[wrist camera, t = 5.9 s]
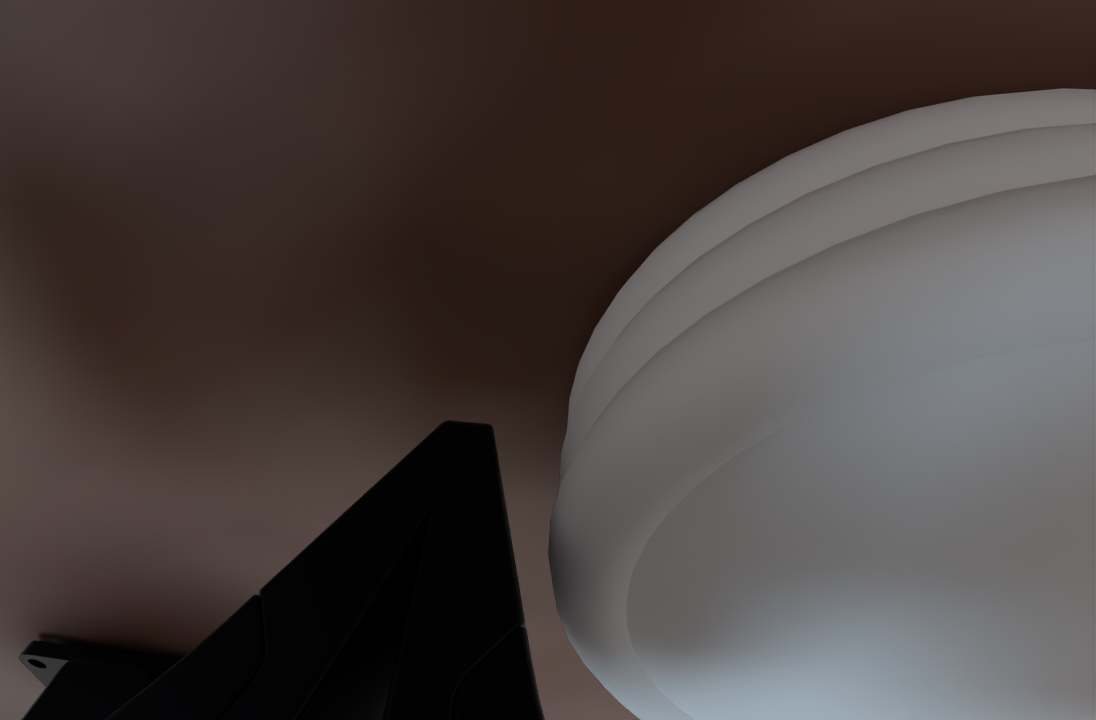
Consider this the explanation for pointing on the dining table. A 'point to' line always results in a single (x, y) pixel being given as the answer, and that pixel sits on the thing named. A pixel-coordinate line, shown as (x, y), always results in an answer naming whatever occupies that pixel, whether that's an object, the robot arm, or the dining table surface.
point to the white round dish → (851, 435)
